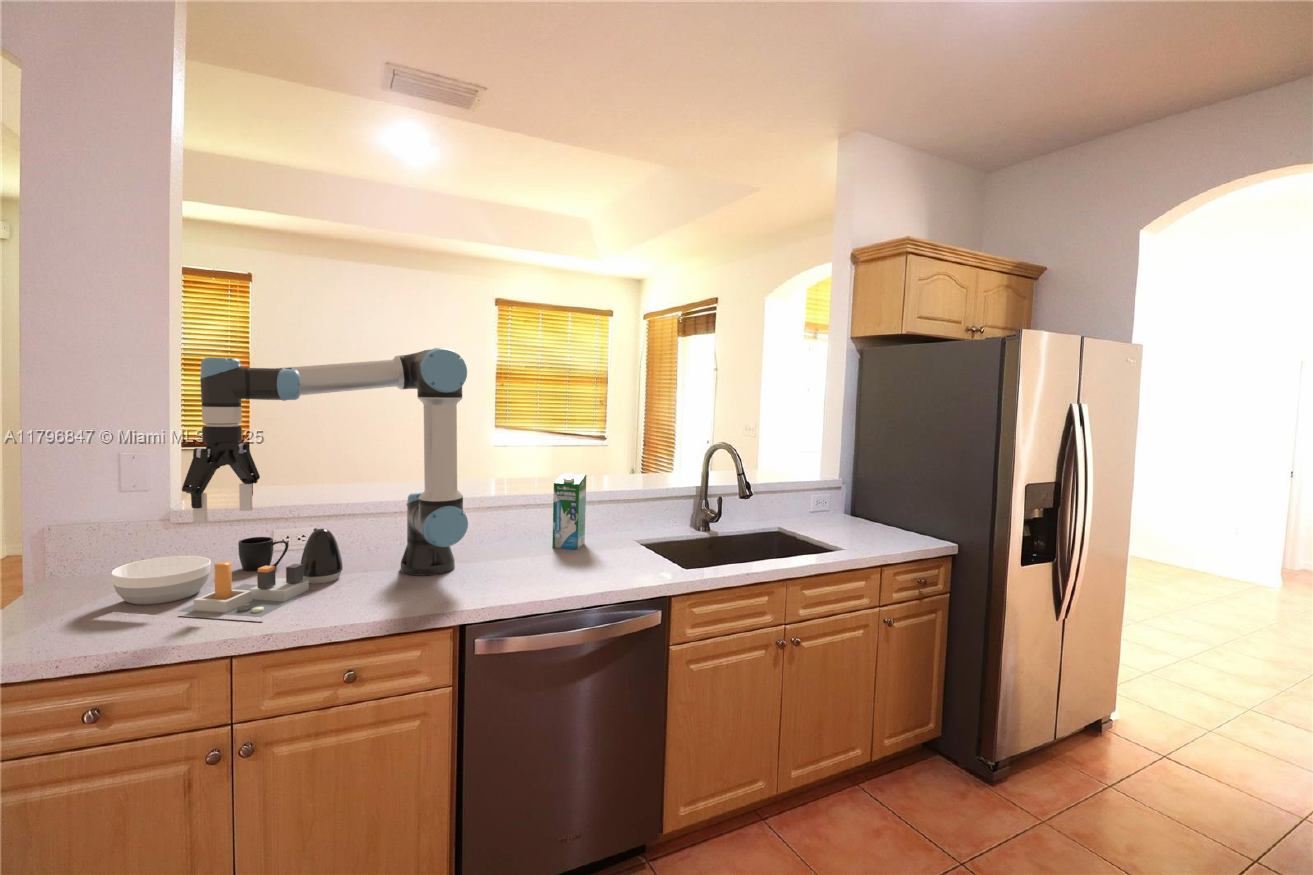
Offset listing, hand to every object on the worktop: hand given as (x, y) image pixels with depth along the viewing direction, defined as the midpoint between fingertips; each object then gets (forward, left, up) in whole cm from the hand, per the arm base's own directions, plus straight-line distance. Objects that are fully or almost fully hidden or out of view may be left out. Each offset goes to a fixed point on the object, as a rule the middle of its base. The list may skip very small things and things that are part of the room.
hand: (224, 516), depth 144 cm
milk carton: (-64, -77, -23) cm, 103 cm away
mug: (+12, -29, -23) cm, 39 cm away
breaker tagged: (-5, -6, -18) cm, 20 cm away
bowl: (+19, -4, -23) cm, 30 cm away
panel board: (-3, -5, -23) cm, 23 cm away
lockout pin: (0, 0, -21) cm, 21 cm away
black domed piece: (-9, -23, -23) cm, 33 cm away
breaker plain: (-9, -11, -18) cm, 23 cm away
